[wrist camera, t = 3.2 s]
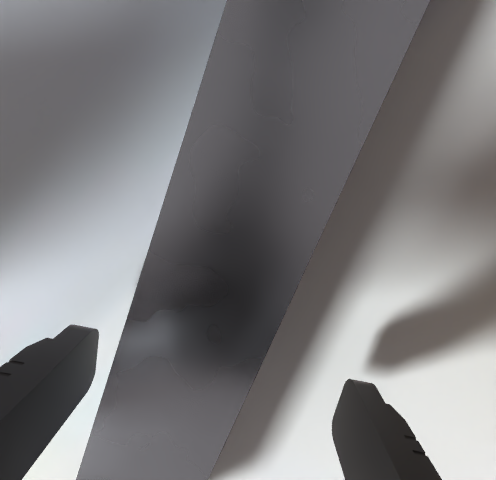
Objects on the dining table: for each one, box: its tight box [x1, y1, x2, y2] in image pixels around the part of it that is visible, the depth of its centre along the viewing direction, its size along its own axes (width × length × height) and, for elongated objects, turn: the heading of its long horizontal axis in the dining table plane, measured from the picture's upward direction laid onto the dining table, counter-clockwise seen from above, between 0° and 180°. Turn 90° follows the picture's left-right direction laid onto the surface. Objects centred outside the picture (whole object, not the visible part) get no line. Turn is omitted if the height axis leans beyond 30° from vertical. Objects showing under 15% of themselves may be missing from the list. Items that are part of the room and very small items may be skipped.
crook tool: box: [76, 0, 430, 480], centre depth 7 cm, size 12×29×4 cm, turn 159°
